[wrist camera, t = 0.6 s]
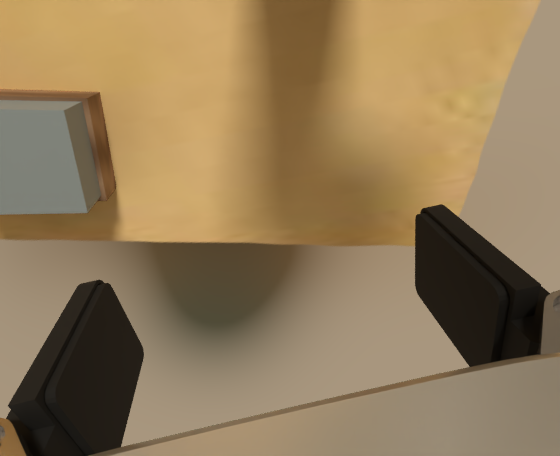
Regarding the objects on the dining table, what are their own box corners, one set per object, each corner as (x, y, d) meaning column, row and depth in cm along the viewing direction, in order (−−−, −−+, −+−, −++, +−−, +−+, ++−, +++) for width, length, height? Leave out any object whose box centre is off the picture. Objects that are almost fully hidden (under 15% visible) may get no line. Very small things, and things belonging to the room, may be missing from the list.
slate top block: (-77, 98, 34) (-116, 107, 30) (81, 101, 36) (63, 110, 32) (-38, 197, 39) (-67, 215, 35) (101, 195, 41) (87, 212, 37)
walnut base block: (-52, 86, 38) (-84, 93, 34) (101, 91, 40) (87, 98, 36) (-17, 186, 43) (-41, 201, 39) (117, 185, 45) (106, 200, 41)
